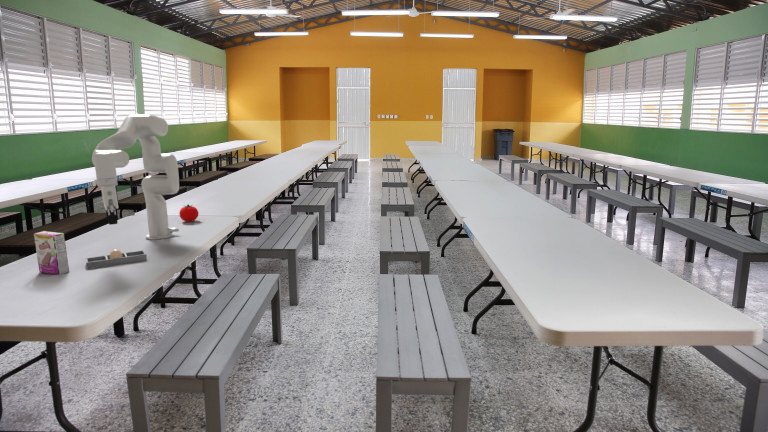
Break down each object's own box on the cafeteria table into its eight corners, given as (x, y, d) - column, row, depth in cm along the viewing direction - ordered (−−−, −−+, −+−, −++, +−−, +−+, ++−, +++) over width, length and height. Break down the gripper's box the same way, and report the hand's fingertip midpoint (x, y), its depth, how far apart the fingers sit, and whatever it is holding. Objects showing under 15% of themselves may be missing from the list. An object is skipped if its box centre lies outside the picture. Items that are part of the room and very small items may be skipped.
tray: (144, 255, 236) (143, 250, 235) (146, 260, 229) (146, 254, 229) (86, 264, 224) (85, 258, 224) (87, 268, 218) (86, 262, 217)
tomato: (195, 223, 301) (193, 206, 299) (177, 223, 301) (175, 206, 299) (201, 219, 311) (200, 203, 309) (184, 219, 311) (182, 203, 309)
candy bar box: (38, 272, 213) (32, 233, 210) (49, 269, 218) (44, 230, 214) (59, 275, 209) (53, 235, 206) (70, 271, 214) (64, 232, 211)
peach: (122, 258, 230) (120, 247, 229) (123, 261, 226) (122, 249, 225) (109, 260, 227) (108, 249, 226) (110, 263, 223) (109, 251, 222)
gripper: (119, 183, 214) (124, 224, 218) (115, 178, 229) (120, 217, 233) (98, 185, 211) (103, 227, 214) (95, 180, 225) (100, 219, 229)
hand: (112, 221), depth 223 cm, fingers open, 9 cm apart
